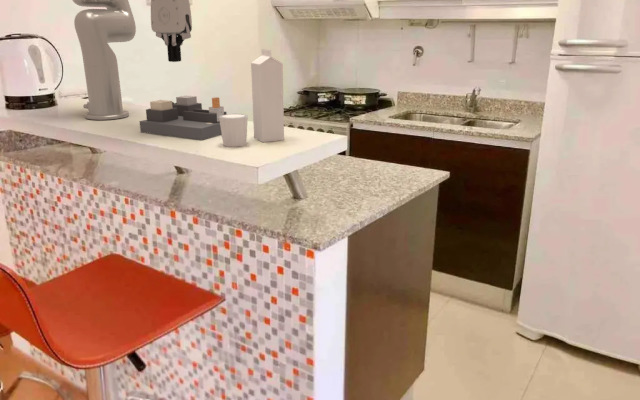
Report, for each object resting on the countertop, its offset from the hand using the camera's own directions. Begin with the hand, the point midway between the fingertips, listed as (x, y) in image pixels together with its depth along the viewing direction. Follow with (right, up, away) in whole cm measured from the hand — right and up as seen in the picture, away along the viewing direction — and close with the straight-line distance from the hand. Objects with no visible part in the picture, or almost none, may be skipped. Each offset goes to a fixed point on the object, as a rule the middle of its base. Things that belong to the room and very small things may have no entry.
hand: (174, 61), depth 140 cm
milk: (+25, -21, -4) cm, 33 cm away
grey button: (0, -10, +13) cm, 16 cm away
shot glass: (+17, -23, -9) cm, 30 cm away
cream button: (-5, -13, +4) cm, 15 cm away
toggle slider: (+11, -15, +2) cm, 19 cm away
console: (+3, -17, +7) cm, 19 cm away
